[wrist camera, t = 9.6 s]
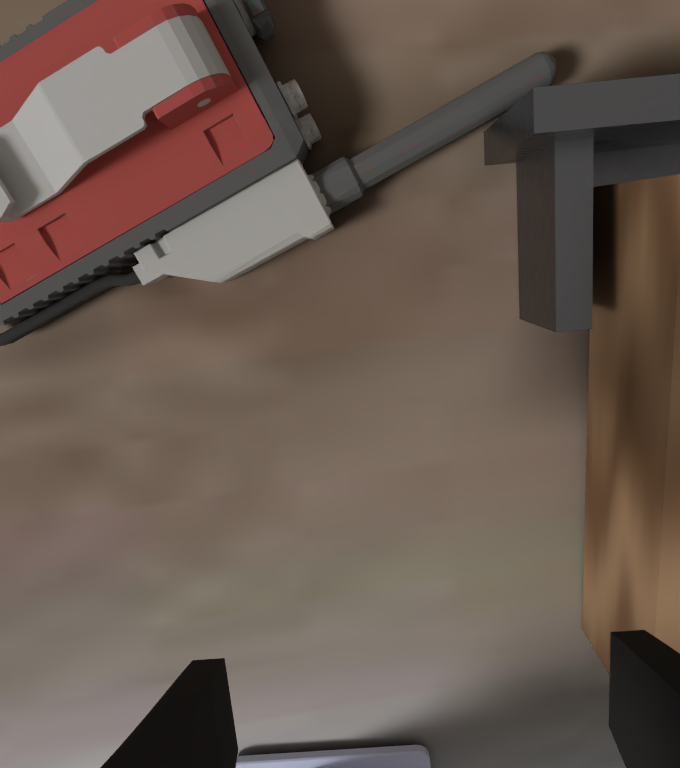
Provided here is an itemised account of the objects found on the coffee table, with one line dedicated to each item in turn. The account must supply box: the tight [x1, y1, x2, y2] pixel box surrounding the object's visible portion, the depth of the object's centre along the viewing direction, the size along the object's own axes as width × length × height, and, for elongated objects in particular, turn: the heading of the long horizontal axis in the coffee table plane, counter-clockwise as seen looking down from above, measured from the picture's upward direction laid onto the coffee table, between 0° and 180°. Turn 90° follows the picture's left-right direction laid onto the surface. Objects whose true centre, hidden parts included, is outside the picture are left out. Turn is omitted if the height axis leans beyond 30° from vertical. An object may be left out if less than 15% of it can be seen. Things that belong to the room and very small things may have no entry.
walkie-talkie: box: [0, 0, 558, 346], centre depth 17 cm, size 9×4×20 cm
